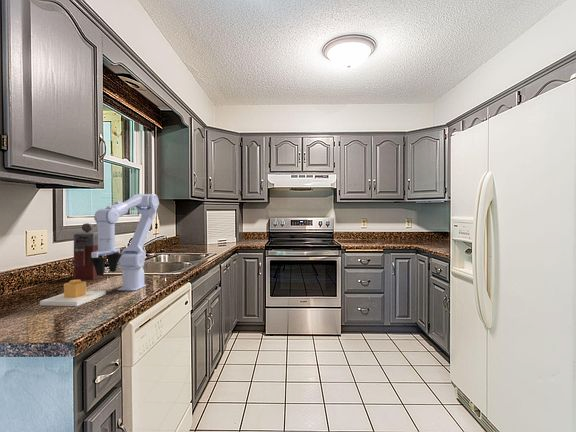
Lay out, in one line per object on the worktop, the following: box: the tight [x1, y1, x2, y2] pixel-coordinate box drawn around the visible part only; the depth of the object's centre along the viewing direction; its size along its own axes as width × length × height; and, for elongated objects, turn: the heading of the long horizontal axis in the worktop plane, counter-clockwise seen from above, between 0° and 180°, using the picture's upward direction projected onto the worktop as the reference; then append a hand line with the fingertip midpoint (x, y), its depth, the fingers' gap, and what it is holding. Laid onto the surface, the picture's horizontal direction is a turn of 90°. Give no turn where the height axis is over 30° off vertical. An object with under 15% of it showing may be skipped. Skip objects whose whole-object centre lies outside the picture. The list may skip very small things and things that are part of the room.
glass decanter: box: [73, 222, 101, 281], centre depth 157 cm, size 9×11×28 cm
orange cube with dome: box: [63, 279, 87, 298], centre depth 119 cm, size 5×5×6 cm
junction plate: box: [39, 289, 107, 307], centre depth 120 cm, size 16×14×5 cm
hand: (106, 273), depth 123 cm, fingers open, 7 cm apart
